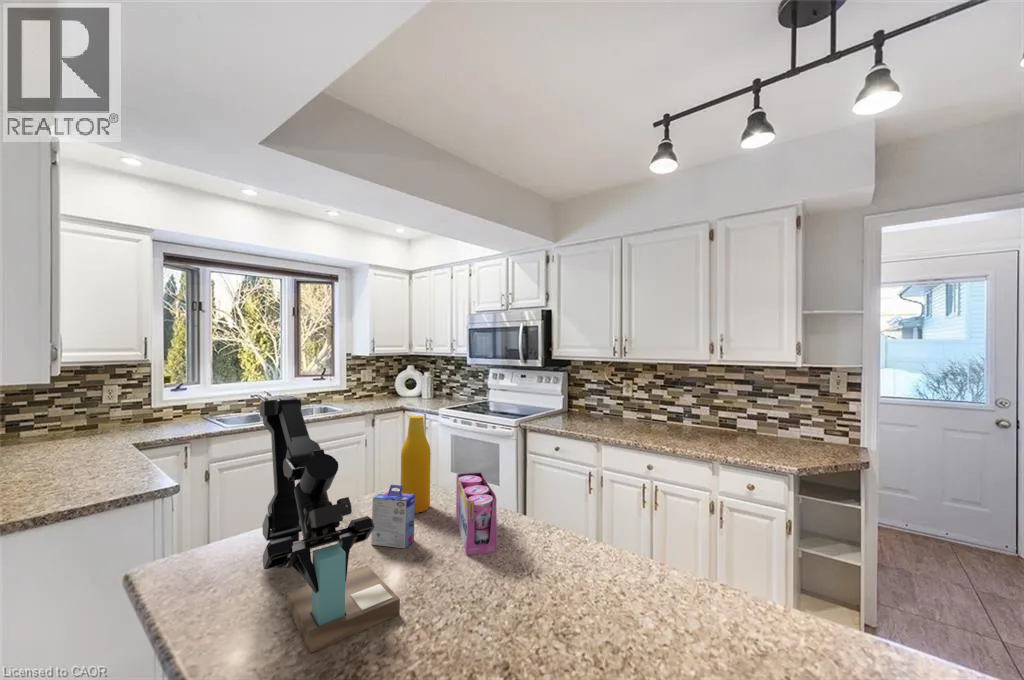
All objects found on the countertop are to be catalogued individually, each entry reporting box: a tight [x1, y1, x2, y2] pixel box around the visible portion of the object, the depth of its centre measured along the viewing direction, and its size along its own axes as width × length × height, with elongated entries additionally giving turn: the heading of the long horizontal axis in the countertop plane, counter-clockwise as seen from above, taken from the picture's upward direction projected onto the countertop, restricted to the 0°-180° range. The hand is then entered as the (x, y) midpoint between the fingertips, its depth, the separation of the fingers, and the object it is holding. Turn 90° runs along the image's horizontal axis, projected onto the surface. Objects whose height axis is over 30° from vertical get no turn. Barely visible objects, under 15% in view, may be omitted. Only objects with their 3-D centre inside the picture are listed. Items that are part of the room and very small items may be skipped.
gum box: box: [455, 472, 498, 556], centre depth 115 cm, size 24×8×14 cm, turn 14°
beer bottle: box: [400, 415, 432, 514], centre depth 133 cm, size 9×9×29 cm
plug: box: [312, 543, 346, 627], centre depth 76 cm, size 4×4×12 cm
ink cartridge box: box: [370, 484, 415, 549], centre depth 111 cm, size 10×6×14 cm, turn 78°
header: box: [286, 565, 401, 654], centre depth 82 cm, size 16×16×3 cm
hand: (331, 587), depth 75 cm, fingers closed on plug, 4 cm apart
